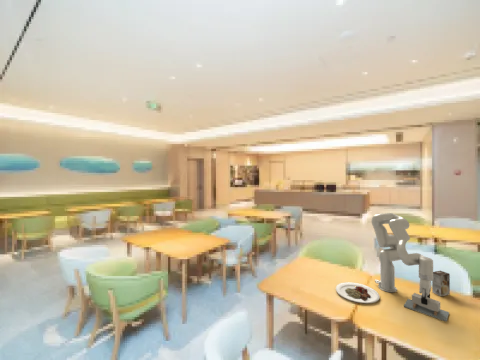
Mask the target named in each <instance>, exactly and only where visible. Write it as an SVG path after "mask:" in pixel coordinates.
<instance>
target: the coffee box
mask: <svg viewBox="0 0 480 360" xmlns="http://www.w3.org/2000/svg"><path fill="white" fill-rule="evenodd" d="M450 276H451V275H450V273H449V272H445V271H442V270H436V271H433V281H431V292H432V293H433V294H435V295H437V296H439V297H444V296H449V295H450V294H451V292H450V291H451V289H450V288H451V283H450V278H451V277H450Z"/></svg>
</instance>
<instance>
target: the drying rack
mask: <svg viewBox="0 0 480 360" xmlns="http://www.w3.org/2000/svg"><path fill="white" fill-rule="evenodd" d="M403 307H404V308H406V309H409V310H410V311H414V312H418V313H420V314H423V315H426V316H429V317H432V318H434V319H437V320H440V321H443V322H446V323H447V322H448V318H449V315H450V312H449V311H447V310H444V309H441V308H440V310H439V312H436V311H434V310H431V309H428V308H426V307H423V306H420V305H418V304H415V303H413V302H412V299H410V298H407V300H406V301H405V303H404V304H403Z"/></svg>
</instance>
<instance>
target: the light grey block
mask: <svg viewBox="0 0 480 360" xmlns="http://www.w3.org/2000/svg"><path fill="white" fill-rule="evenodd" d="M421 296H422V294H420V293H417V292H414V293H413V294H411V300H412V302H413V303H415V304H418V305H420V306H423V307H426V308H428V309H431V310H434V311H436V312H439V310H440V309H441V301H439V300H437V299H433V298H431V297H430V298H428V297H427V305H425V304H422V303H421Z"/></svg>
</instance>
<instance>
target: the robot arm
mask: <svg viewBox="0 0 480 360" xmlns="http://www.w3.org/2000/svg"><path fill="white" fill-rule="evenodd" d="M371 225H372V227H373V229H374V232H375V237H376V241H377V243H378V244H377V245H378V246H379V247H381V248H386V249H382V250H380V251H379V252H378V258H379V262H380V263H379V264H380V266H379V267H380V274H379V275H380V279H379V280H378V279H374V282H375V284H378V286H377V287H378V288H379V289H380V290H381V291H384V292H386V293H396V292H398V288H397V287H396V286H395V285H396V283H395V282H396V281H395V278H396V277H395V272H396V269H395V265H394V264H393V262H397V261H402V263H403V264H404V265H406V266H418V278H419V289H418V290H419V293H418V294H421V295H422V296H421V303H422V304H425V305H427V297H428V298H431V292H432V281H433V272H434V260H433V259H432V258H431V257H426V256H424V255H423V254H421V253H417V252H416V253H415V252H413V253H408V251H407V249H406V248H407V247H406V244H407V243H408V242H409V241H410V239H411V237H410V235H409V233H408V232H407V230H408V229H409V228H410V223H409V221H408V220H407V219H406V218H405V217H403V216H400V215H397V214H396V213H393V212H385V213H383V212H382V213H378V214H374V215H373V216H372V217H371ZM385 225H388V227H389V229H390V230H391V232H392V234H388V229H387V228H386V227H385Z"/></svg>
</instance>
